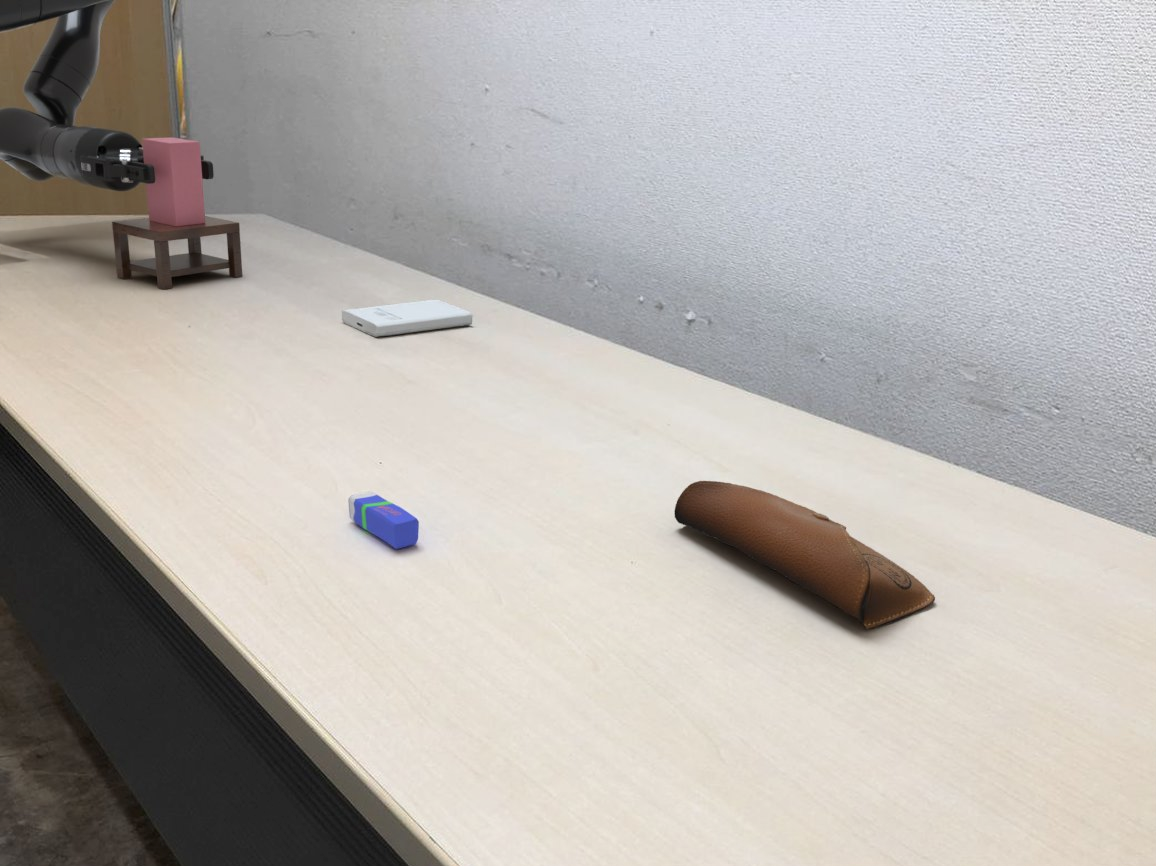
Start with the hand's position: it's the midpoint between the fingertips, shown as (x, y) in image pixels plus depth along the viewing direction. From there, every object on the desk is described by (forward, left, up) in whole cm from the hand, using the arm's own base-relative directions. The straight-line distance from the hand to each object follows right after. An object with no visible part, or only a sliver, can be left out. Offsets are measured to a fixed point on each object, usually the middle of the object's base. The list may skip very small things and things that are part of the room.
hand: (182, 172), depth 139 cm
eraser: (-28, -78, -14) cm, 84 cm away
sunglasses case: (-10, -100, -14) cm, 102 cm away
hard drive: (+9, -33, -14) cm, 37 cm away
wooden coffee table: (0, +2, -13) cm, 13 cm away
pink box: (0, +2, -6) cm, 7 cm away
